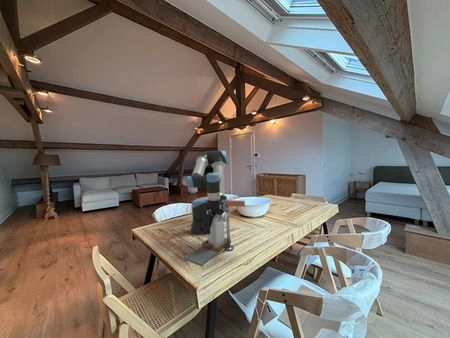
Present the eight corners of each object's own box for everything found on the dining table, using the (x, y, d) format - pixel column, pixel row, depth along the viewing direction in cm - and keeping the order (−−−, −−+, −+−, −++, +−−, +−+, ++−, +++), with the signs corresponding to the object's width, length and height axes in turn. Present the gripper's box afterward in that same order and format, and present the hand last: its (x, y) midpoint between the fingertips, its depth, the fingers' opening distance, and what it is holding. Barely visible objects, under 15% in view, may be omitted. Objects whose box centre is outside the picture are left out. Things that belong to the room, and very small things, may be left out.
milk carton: (216, 241, 116) (214, 211, 115) (225, 244, 111) (223, 213, 110) (208, 246, 111) (206, 214, 109) (217, 249, 106) (215, 216, 105)
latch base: (222, 249, 105) (222, 248, 105) (228, 245, 109) (227, 244, 109) (230, 252, 102) (230, 250, 102) (235, 247, 106) (235, 246, 106)
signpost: (244, 258, 93) (242, 206, 92) (222, 256, 96) (219, 205, 94) (246, 246, 105) (244, 200, 103) (227, 245, 108) (224, 200, 106)
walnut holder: (202, 247, 109) (201, 243, 109) (214, 239, 120) (214, 235, 119) (218, 252, 102) (218, 248, 102) (231, 243, 113) (230, 239, 112)
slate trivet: (183, 258, 98) (183, 257, 98) (200, 248, 109) (200, 247, 109) (201, 265, 91) (201, 264, 90) (217, 253, 101) (217, 252, 101)
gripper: (206, 204, 98) (208, 244, 99) (230, 195, 117) (232, 229, 118) (195, 203, 102) (198, 241, 103) (220, 194, 121) (222, 227, 122)
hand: (216, 235), depth 111 cm, fingers open, 11 cm apart
